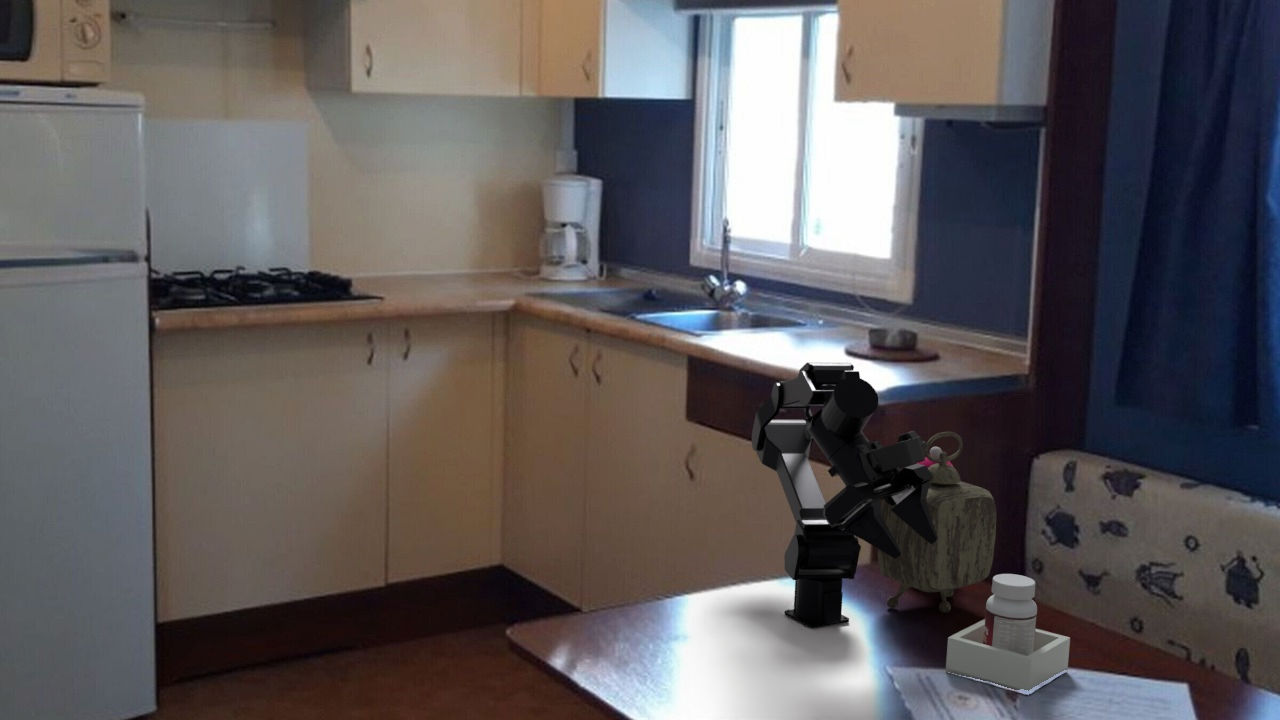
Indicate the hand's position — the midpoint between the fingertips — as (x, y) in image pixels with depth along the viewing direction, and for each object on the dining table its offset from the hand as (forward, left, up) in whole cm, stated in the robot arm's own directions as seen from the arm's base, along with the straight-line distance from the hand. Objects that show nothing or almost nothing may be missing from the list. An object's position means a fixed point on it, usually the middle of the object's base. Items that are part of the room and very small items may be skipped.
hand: (917, 549), depth 197 cm
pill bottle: (+11, +6, -13) cm, 18 cm away
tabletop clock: (-12, +14, -14) cm, 24 cm away
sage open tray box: (+11, +6, -14) cm, 18 cm away
